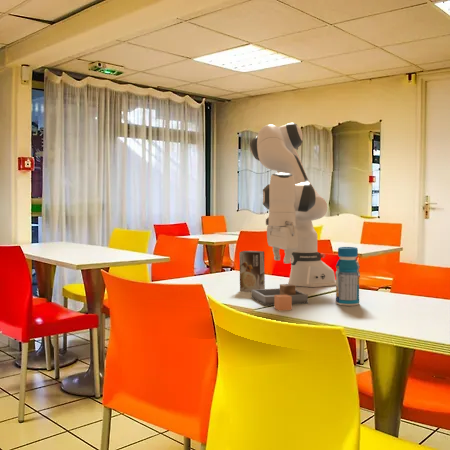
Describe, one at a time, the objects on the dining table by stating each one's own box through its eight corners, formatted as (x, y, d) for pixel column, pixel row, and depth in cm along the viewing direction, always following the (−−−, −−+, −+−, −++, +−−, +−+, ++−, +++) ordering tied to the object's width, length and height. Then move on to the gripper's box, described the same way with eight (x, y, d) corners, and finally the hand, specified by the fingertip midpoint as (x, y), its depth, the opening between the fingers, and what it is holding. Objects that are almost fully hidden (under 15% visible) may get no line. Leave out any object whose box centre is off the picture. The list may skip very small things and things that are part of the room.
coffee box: (265, 290, 221) (265, 251, 220) (260, 292, 215) (260, 252, 214) (244, 288, 224) (244, 250, 224) (239, 291, 218) (238, 251, 218)
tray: (291, 295, 208) (291, 287, 208) (307, 303, 192) (307, 294, 192) (251, 297, 204) (251, 289, 204) (265, 305, 188) (265, 297, 188)
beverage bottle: (346, 307, 185) (346, 249, 184) (330, 303, 193) (330, 247, 192) (364, 304, 189) (365, 247, 188) (348, 300, 197) (349, 246, 196)
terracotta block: (286, 307, 185) (286, 294, 185) (291, 310, 181) (291, 296, 181) (274, 308, 184) (274, 295, 184) (279, 310, 180) (279, 297, 180)
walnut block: (291, 295, 202) (291, 283, 202) (295, 297, 197) (295, 285, 197) (279, 296, 201) (279, 284, 200) (284, 298, 196) (284, 286, 196)
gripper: (302, 221, 172) (302, 265, 173) (280, 219, 192) (280, 258, 193) (284, 222, 171) (283, 265, 171) (263, 219, 190) (263, 259, 191)
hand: (281, 261), depth 182 cm, fingers open, 8 cm apart
